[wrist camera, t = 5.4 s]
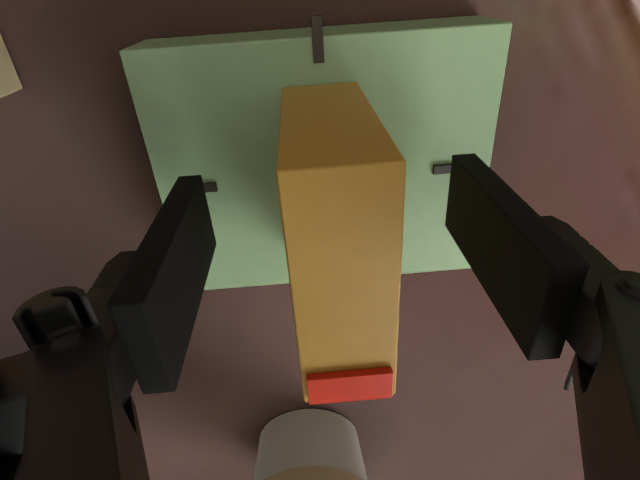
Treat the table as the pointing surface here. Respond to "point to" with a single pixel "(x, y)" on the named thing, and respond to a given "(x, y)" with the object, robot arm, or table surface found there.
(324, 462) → the coffee cup
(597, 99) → the table surface
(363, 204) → the yellow rectangular block
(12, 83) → the beige button mount
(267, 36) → the plate
